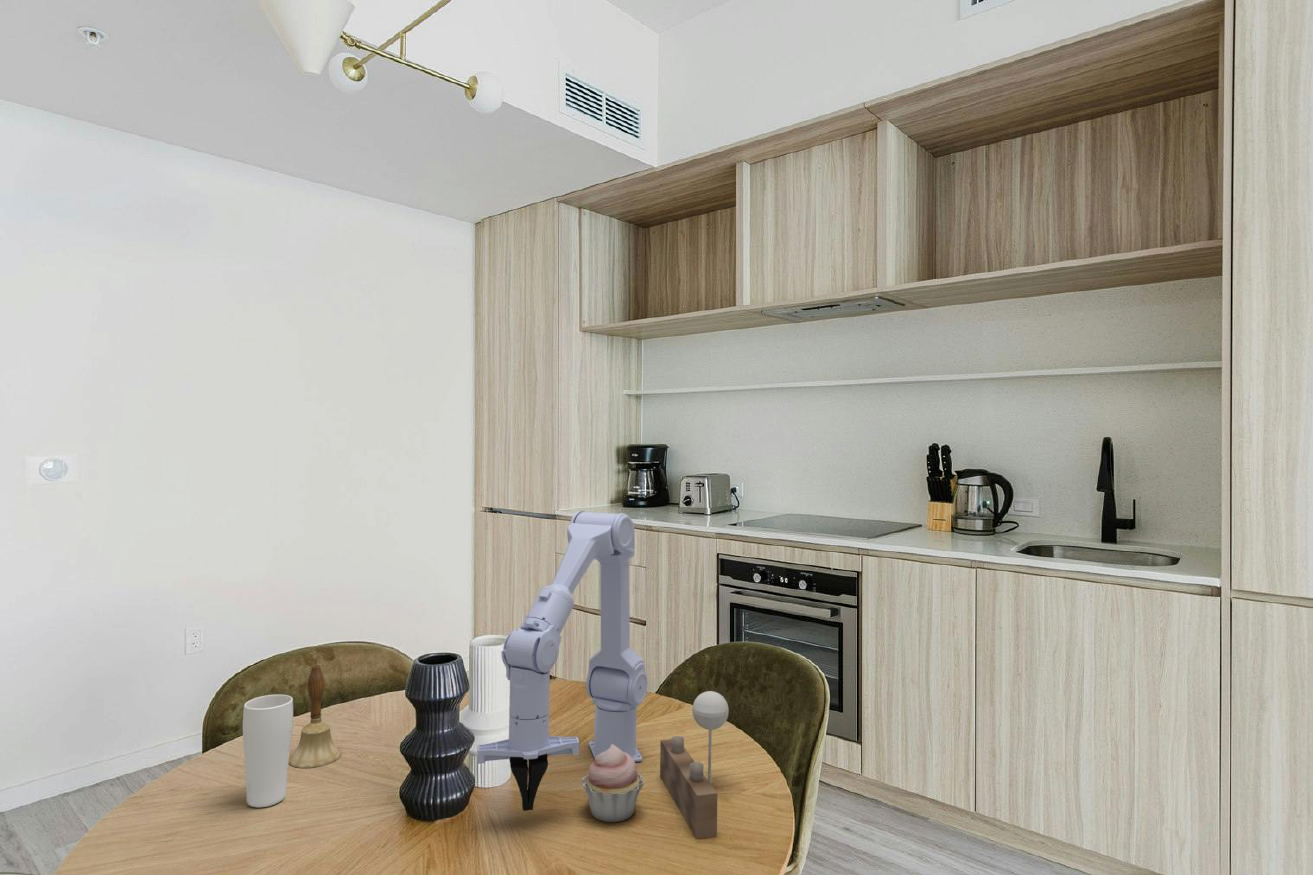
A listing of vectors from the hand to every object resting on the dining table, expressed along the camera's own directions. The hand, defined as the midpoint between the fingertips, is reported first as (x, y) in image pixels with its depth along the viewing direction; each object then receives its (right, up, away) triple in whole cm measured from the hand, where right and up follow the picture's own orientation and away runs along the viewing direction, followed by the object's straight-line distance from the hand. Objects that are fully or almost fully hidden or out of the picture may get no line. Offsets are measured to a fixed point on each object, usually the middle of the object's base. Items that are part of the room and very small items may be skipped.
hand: (527, 807), depth 106 cm
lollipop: (+27, -3, +12) cm, 30 cm away
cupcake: (+12, -3, +3) cm, 13 cm away
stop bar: (+23, -3, +6) cm, 24 cm away
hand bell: (-40, -2, +21) cm, 45 cm away
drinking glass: (-41, -2, +5) cm, 41 cm away
